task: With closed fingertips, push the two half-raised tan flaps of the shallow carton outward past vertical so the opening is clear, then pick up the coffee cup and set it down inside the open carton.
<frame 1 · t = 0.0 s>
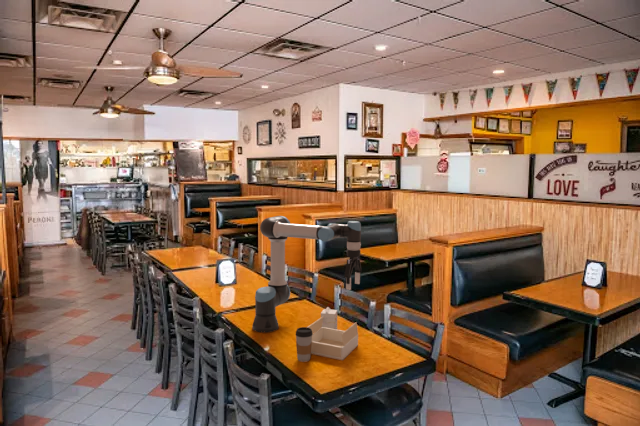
hand: (352, 286, 254), 28 cm above the table, fingers open, 13 cm apart
carton: (331, 348, 237), on the table
tissue box: (328, 331, 263), on the table
flap 1: (314, 327, 240), point 10 cm above the table, hinge at 82.0°
coffee cup: (303, 359, 224), on the table
flap 2: (350, 333, 232), point 10 cm above the table, hinge at 82.0°
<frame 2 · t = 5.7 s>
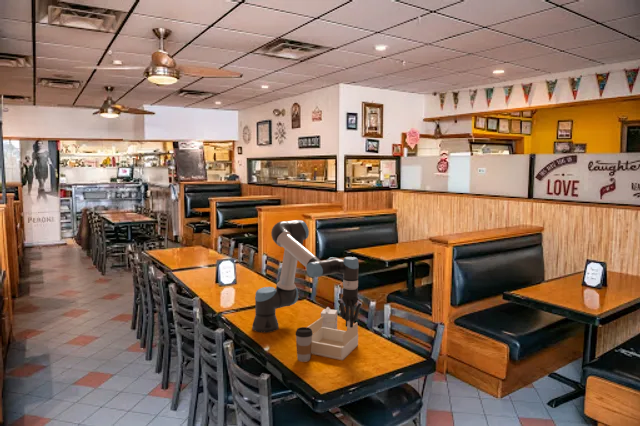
hand: (349, 333, 232), 10 cm above the table, fingers closed
flap 2: (350, 333, 231), point 10 cm above the table, hinge at 86.5°, touching gripper
everything else where it was.
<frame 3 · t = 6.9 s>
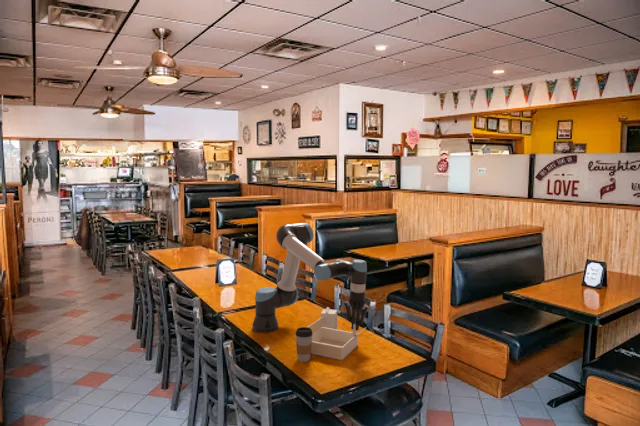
hand: (354, 335, 230), 9 cm above the table, fingers closed
flap 2: (355, 336, 230), point 9 cm above the table, hinge at 136.5°, touching gripper
everything else where it was.
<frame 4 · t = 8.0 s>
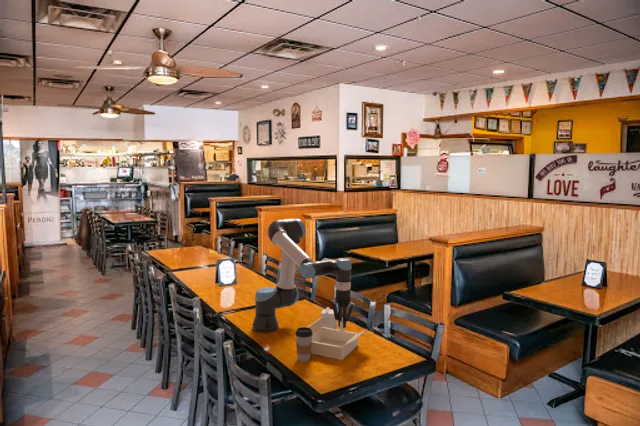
hand: (342, 333, 234), 9 cm above the table, fingers closed
flap 2: (356, 337, 230), point 8 cm above the table, hinge at 145.9°
everything else where it was.
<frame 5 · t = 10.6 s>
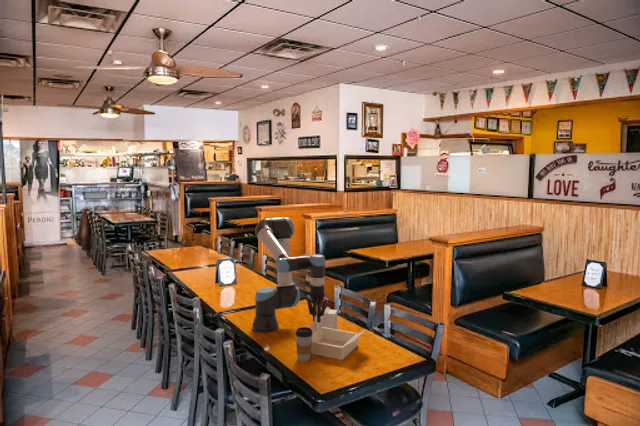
hand: (316, 328, 240), 10 cm above the table, fingers closed
flap 1: (314, 327, 240), point 10 cm above the table, hinge at 82.0°, touching gripper
flap 2: (356, 337, 230), point 8 cm above the table, hinge at 146.2°
everything else where it was.
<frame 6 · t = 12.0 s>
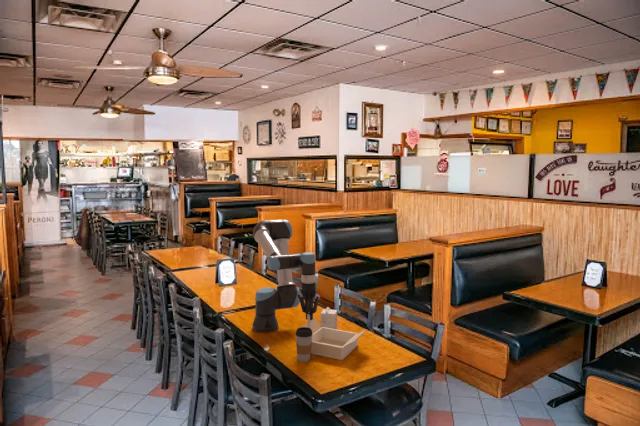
hand: (309, 325, 242), 10 cm above the table, fingers closed
flap 1: (309, 327, 241), point 9 cm above the table, hinge at 130.4°, touching gripper
everything else where it was.
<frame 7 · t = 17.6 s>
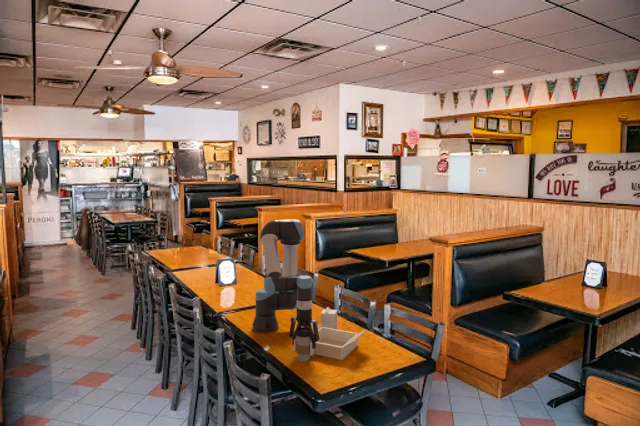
hand: (303, 352, 223), 3 cm above the table, fingers closed on coffee cup, 8 cm apart
flap 1: (309, 328, 242), point 9 cm above the table, hinge at 140.1°
coffee cup: (303, 359, 224), on the table, touching gripper
everything else where it was.
when the fingers open (6 cm above the table, at t = 24.5 s): coffee cup drops 2 cm, resting on carton.
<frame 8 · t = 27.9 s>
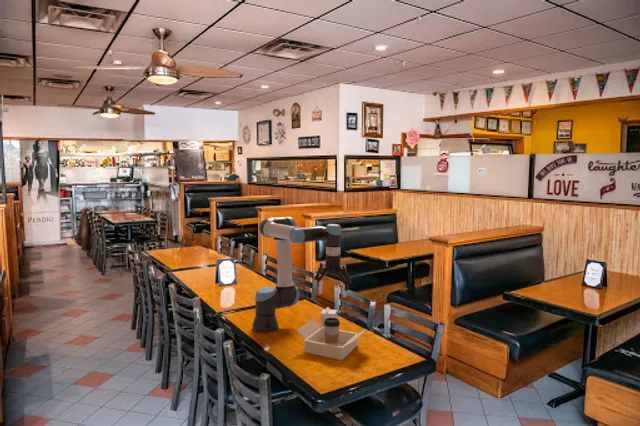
hand: (332, 295, 234), 29 cm above the table, fingers open, 13 cm apart
coffee cup: (331, 348, 237), resting on carton
everything else where it was.
at the end: flap 2 at +146° (first picture: +82°); flap 1 at +140° (first picture: +82°); coffee cup inside the target area on the carton (0.1 cm from its centre), point 0.3 cm above the carton's base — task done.
